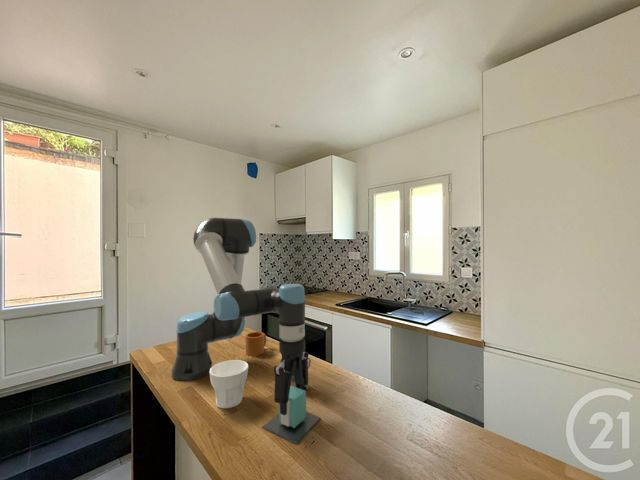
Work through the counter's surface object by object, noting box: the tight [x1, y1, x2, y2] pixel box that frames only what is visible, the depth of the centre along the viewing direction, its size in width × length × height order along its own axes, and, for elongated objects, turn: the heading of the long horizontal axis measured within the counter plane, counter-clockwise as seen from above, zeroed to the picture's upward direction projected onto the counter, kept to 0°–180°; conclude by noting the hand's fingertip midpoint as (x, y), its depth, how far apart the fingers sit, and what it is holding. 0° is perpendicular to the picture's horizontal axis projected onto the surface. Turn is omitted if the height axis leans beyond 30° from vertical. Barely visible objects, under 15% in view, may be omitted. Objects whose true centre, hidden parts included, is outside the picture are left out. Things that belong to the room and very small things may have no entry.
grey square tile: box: [262, 411, 321, 446], centre depth 78 cm, size 12×12×6 cm
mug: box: [245, 331, 267, 357], centre depth 130 cm, size 9×12×9 cm
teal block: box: [278, 386, 307, 428], centre depth 78 cm, size 6×6×8 cm
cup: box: [208, 359, 249, 409], centre depth 89 cm, size 12×12×11 cm
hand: (292, 418), depth 77 cm, fingers closed on teal block, 6 cm apart
